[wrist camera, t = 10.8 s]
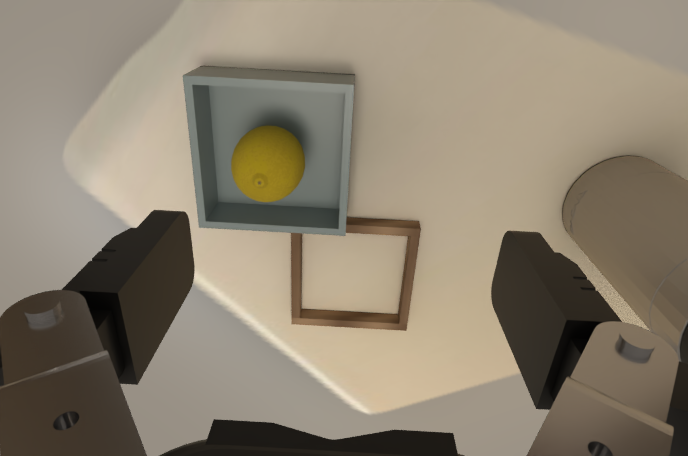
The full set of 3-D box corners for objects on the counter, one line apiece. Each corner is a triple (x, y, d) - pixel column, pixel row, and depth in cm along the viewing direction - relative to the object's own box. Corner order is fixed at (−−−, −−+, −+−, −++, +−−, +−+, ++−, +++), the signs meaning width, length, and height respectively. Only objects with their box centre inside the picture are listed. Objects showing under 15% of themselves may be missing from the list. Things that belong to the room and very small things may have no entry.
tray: (418, 221, 43) (420, 229, 41) (404, 321, 48) (406, 330, 47) (293, 214, 43) (291, 221, 41) (293, 314, 48) (291, 324, 47)
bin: (354, 74, 37) (354, 84, 33) (346, 212, 42) (345, 235, 38) (201, 65, 37) (182, 75, 33) (214, 205, 42) (199, 227, 38)
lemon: (294, 187, 41) (281, 230, 34) (235, 161, 40) (208, 199, 33) (320, 132, 38) (311, 165, 31) (257, 102, 37) (234, 130, 30)
